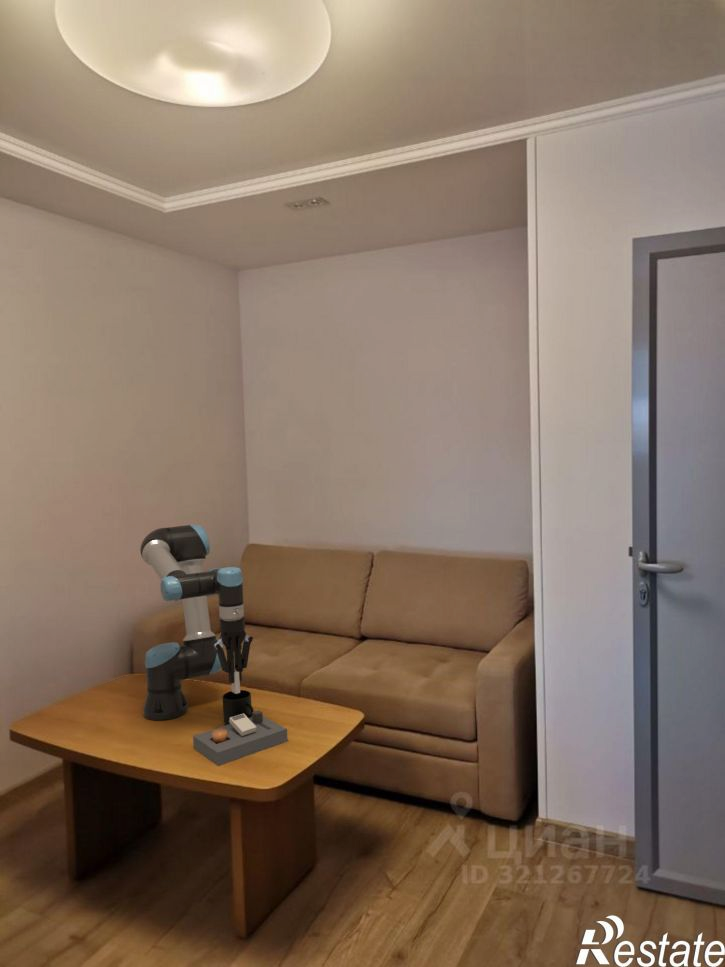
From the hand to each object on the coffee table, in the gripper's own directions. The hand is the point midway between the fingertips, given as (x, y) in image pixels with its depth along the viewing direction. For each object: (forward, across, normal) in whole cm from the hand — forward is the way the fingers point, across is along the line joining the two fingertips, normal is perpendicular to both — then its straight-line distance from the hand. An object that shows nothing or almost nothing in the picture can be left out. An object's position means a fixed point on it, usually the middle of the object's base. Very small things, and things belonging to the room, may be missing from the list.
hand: (235, 692), depth 228 cm
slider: (+12, +7, 0) cm, 14 cm away
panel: (+16, -1, -3) cm, 16 cm away
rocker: (+10, 0, -3) cm, 10 cm away
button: (+16, -8, -3) cm, 18 cm away
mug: (+16, +8, +13) cm, 22 cm away
